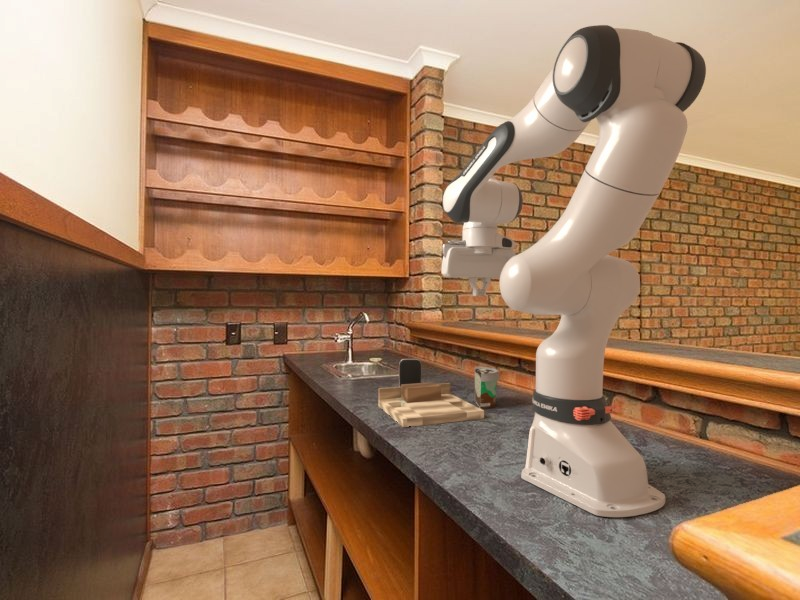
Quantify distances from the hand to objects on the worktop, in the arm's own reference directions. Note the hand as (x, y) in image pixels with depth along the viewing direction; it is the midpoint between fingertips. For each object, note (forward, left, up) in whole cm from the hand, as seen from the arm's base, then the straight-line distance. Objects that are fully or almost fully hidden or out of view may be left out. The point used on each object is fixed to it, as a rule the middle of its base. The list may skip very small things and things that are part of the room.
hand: (479, 296), depth 107 cm
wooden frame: (+9, +10, -31) cm, 34 cm away
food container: (+10, -9, -31) cm, 34 cm away
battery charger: (+28, +8, -31) cm, 43 cm away
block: (+15, +10, -29) cm, 34 cm away
